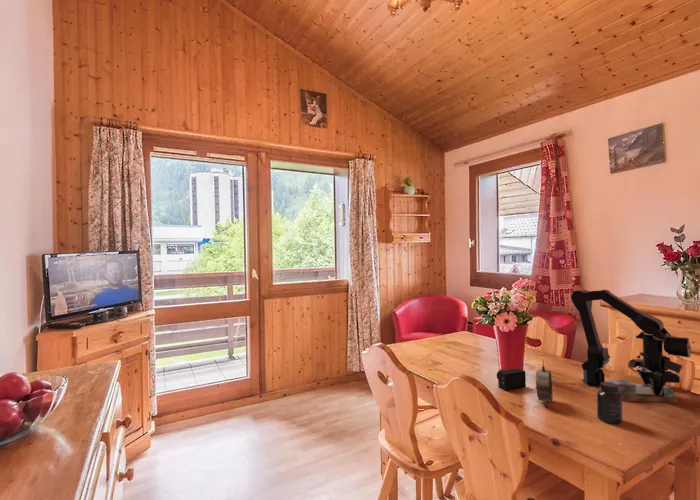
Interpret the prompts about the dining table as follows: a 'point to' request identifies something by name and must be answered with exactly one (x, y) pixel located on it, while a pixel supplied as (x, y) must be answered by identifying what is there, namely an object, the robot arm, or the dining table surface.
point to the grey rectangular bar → (648, 389)
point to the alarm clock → (544, 385)
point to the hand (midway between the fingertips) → (653, 393)
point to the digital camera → (511, 379)
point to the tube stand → (629, 393)
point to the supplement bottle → (609, 404)
